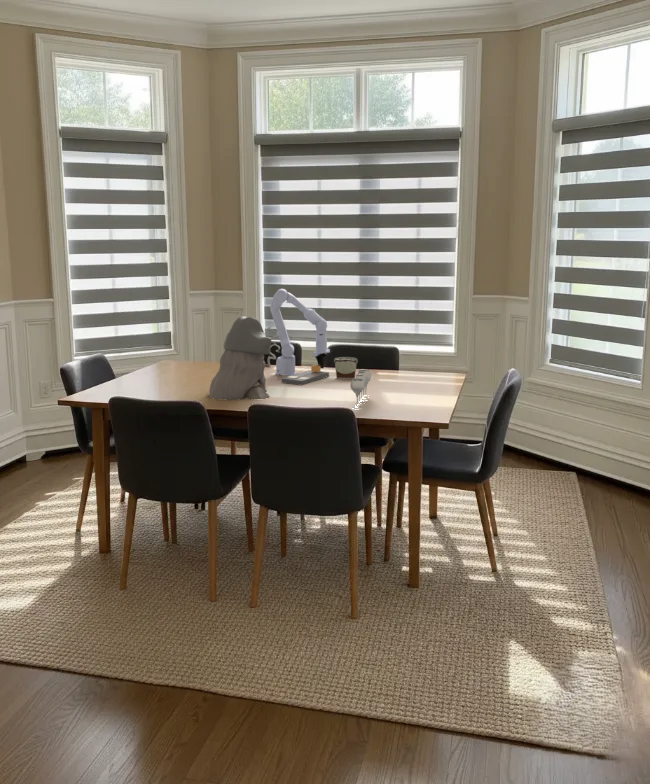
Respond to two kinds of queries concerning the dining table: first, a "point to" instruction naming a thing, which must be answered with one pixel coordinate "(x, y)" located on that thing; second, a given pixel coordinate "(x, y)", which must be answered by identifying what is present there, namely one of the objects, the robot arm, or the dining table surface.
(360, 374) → the goblet set
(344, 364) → the food container
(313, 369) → the fader
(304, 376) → the console
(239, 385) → the bust
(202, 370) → the dining table surface
